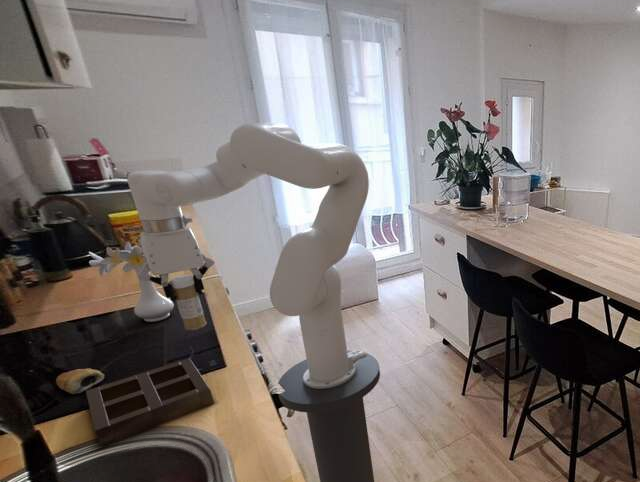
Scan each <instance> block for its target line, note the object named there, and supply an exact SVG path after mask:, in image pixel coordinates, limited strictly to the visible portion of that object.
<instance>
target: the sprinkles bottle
mask: <svg viewBox="0 0 640 482" xmlns="http://www.w3.org/2000/svg"><path fill="white" fill-rule="evenodd" d="M169 283H170V285H171V286H172V288H173V291H174V295H175V298H176V300H175V302H176V304H177V308H178V311H179V314H180V318H181V319H182V322H183V325H184V329H185V330H186V331H196V330H199V329H202V328H204V327H206V325H207V324H208V323H207V321H206V318H205V314H204V309H203V306H202V304H201V300H200V295H199V294H198V293H197V291H196V288H195V281H194V278H193V275H180V276H176V277H173V278H171V279H170V280H169Z"/></svg>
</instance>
